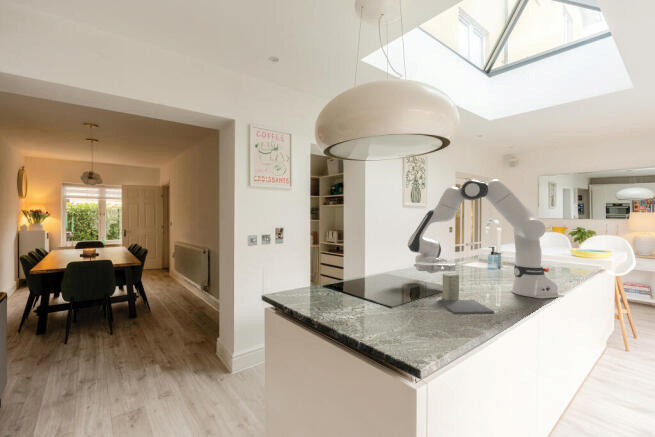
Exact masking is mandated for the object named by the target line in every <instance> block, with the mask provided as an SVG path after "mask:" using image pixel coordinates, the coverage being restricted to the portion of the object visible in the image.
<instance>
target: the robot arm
mask: <svg viewBox="0 0 655 437" xmlns="http://www.w3.org/2000/svg"><path fill="white" fill-rule="evenodd" d="M481 198H485V199H486V200H488V202H489V203H491V205H492V206H493V207H494V208H495V209H496V210H497V212H498V213H499V214H500V215H501V217H503V219H505V220H506V221H507V222H508V223H509V224H510V226H512V228H513V232H514V233H513V234H514V247H515V262H514V265H513V272H514V278H513V284H512V286H511V287H512V288H511V290H510V292H511V293H512V294H515V295H519V296H524V297H529V298H536V299H551V298H563V297H564V296H565V294H563V293H562V292H560V291H559V288H558V285H557V283H556V281H554V280H553V279H552V278H550V277H549V276H547V275H546V273H549V272H550V269H549V267H548V268H547V267H543V266H542V247H541V241H540V239H541V237H543V236H544V235H545V233H546V226H545V223H544V222H543V221H542V220H541V219H540V217H538V216H537V215H536V214H535V213H534V212H532V210H530V208H528V207H527V206H526V205H525V204H524V202H522V201H521V199H519V197H517V195H516V194H515V192H513V191H512V189H510V188H509V187H508V186H507V185H506V184H505V183H503V182H502V181H500V180H499V179H497V178H496V179H491V180H489V181H487V182H482V181H480V180H477V179H469V180H467V181H465V182H464V183H463V184H462V186H461V187H456V186H449V187H447V188H446V189H445V191H444V192H443V193H442V196H440V199H439V201H438V204H437V205H436V206H435V208H433V209H432V210H429V211H428V212H427V213H426V214H425V215H424V217H423V218H422V220H421V221H420V223H419V225H418V226H417V228H416V229H415V231H414V232H413V234H412V235H411V236H410V237H409V239H408V242H407V247H408V249H409V250H410V252H411V253H418V254H417V255H416V256H415V260H414V261H415V263H414V264H413V267H415V268H416V271H418V272H426V273H429V274H435V273H440V272H456V268H457V267H456V264H455V263H453V262H451V261H449V260H448V259H445V258H439V257H440V256H441V252H442V247H441V244H440V243H439V241H437V240H435V239H431V238H427V237H424V235H425V233H426V232H427V230H428V228H429V227H430V226H431V225H433V224H434V223H443V222H444V223H446V222H449V221H450V222H451V221H452V220H453V219H455V217H456V216H457V213H458V211H459V208H460V206H461V204H462V203H463V202H464V201H477V200H479V199H481ZM564 298H565V297H564Z"/></svg>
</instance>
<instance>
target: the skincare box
mask: <svg viewBox="0 0 655 437" xmlns="http://www.w3.org/2000/svg"><path fill="white" fill-rule="evenodd" d="M442 299H443V300H460V275H459V274H458V273H455V272H451V273H450V272H448V273H447V272H446V273H442Z"/></svg>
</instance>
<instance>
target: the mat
mask: <svg viewBox="0 0 655 437" xmlns="http://www.w3.org/2000/svg"><path fill="white" fill-rule="evenodd" d="M437 303H439V304H440V305H441V306H442V307H444V308H445V309H446V310H448V311H449V312H450V313H451V314H454V315H467V314H470V315H471V314H475V315H476V314H478V315H479V314H495V311H494V310H492V309H491V308H489V307H487V306H485V305H484V304H482V303H479V301H476V300H474V299H459V300H445V299H443V300H441V299H440V300H439V299H438V300H437Z"/></svg>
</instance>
